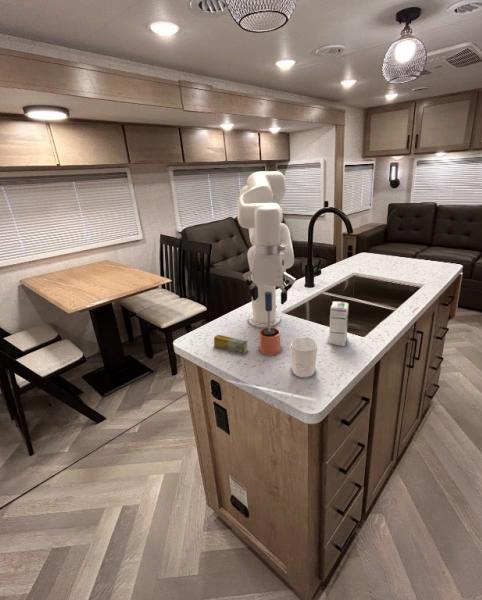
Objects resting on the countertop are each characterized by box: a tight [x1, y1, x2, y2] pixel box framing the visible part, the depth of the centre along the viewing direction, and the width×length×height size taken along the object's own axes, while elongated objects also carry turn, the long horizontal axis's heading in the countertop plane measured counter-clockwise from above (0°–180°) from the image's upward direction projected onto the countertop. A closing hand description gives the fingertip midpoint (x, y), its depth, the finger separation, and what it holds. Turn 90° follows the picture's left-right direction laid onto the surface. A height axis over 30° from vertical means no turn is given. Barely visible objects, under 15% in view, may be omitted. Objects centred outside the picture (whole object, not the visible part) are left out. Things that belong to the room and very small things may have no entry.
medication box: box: [213, 334, 248, 355], centre depth 110 cm, size 12×3×4 cm, turn 67°
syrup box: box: [328, 301, 350, 347], centre depth 112 cm, size 6×6×14 cm
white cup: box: [290, 336, 319, 378], centre depth 97 cm, size 8×8×10 cm
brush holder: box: [258, 326, 282, 356], centre depth 109 cm, size 7×7×7 cm
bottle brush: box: [264, 292, 275, 337], centre depth 106 cm, size 4×4×21 cm
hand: (269, 300), depth 104 cm, fingers open, 9 cm apart
